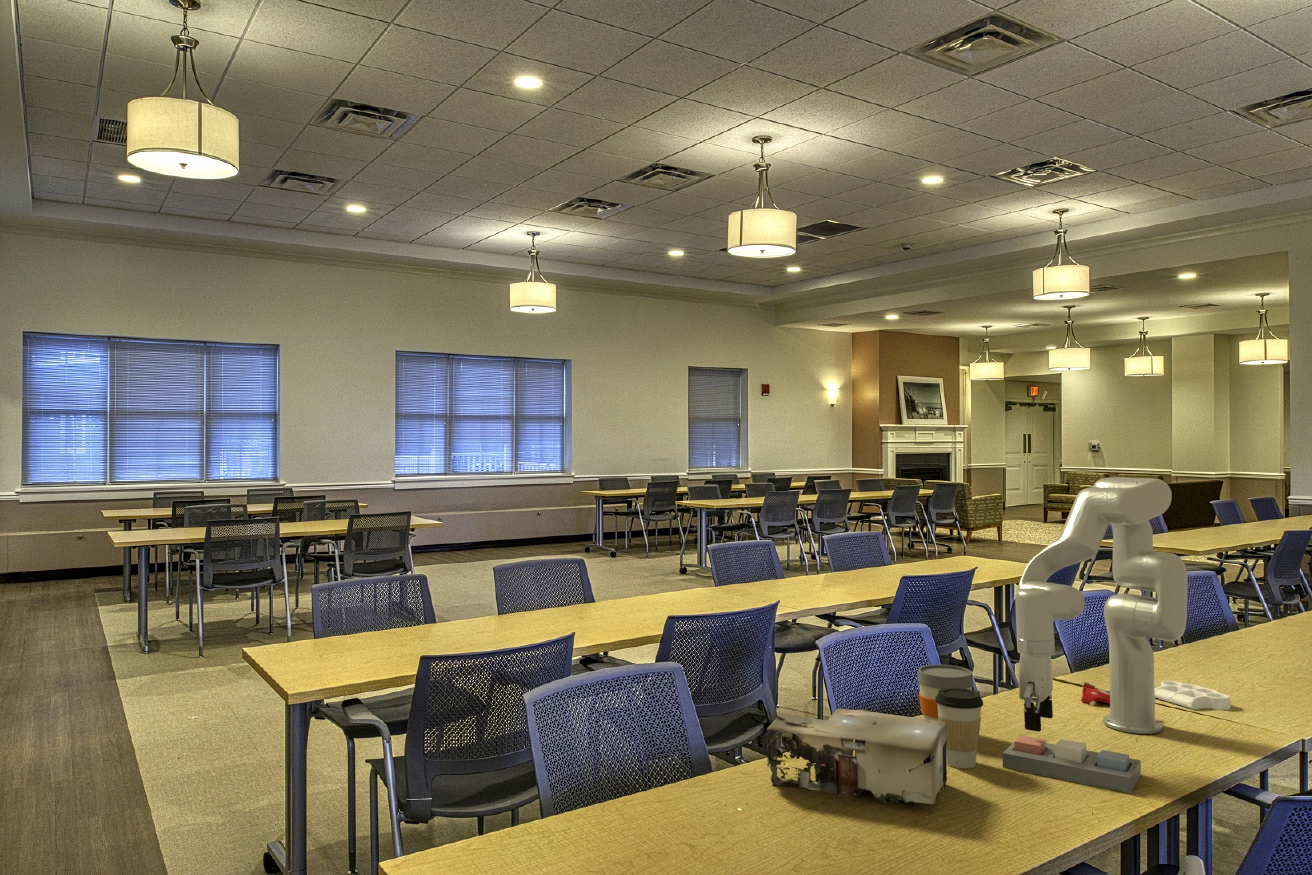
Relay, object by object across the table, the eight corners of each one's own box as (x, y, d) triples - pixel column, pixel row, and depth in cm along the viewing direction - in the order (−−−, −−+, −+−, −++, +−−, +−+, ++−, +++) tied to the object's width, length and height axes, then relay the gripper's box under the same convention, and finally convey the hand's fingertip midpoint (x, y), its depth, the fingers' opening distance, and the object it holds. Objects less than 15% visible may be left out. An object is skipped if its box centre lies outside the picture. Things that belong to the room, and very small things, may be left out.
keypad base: (1018, 751, 195) (1018, 737, 195) (1140, 774, 181) (1140, 760, 181) (1002, 767, 186) (1002, 752, 186) (1130, 793, 171) (1129, 777, 171)
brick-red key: (1021, 753, 192) (1021, 735, 192) (1045, 758, 189) (1045, 739, 189) (1014, 760, 188) (1014, 741, 188) (1039, 765, 185) (1039, 745, 185)
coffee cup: (986, 759, 191) (985, 689, 191) (982, 774, 182) (981, 701, 182) (938, 752, 195) (937, 685, 195) (932, 767, 186) (931, 696, 186)
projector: (791, 758, 192) (790, 697, 191) (947, 783, 177) (947, 718, 177) (763, 791, 175) (762, 724, 175) (933, 822, 161) (932, 749, 160)
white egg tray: (1140, 696, 238) (1179, 690, 243) (1203, 715, 221) (1243, 708, 227) (1140, 684, 238) (1179, 678, 244) (1202, 701, 221) (1243, 695, 227)
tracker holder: (1128, 700, 231) (1105, 696, 226) (1122, 715, 231) (1099, 712, 226) (1088, 679, 241) (1065, 675, 237) (1082, 694, 242) (1060, 690, 237)
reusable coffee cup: (951, 723, 215) (950, 662, 215) (985, 739, 203) (984, 674, 203) (907, 729, 211) (906, 666, 211) (939, 746, 199) (938, 679, 200)
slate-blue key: (1102, 769, 182) (1102, 749, 182) (1129, 774, 179) (1129, 754, 179) (1097, 776, 178) (1096, 756, 178) (1124, 782, 175) (1124, 761, 175)
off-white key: (1060, 757, 187) (1060, 738, 187) (1086, 762, 184) (1086, 743, 184) (1054, 764, 183) (1054, 745, 183) (1081, 769, 180) (1080, 750, 180)
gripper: (1028, 635, 202) (1031, 709, 202) (1006, 652, 188) (1009, 732, 188) (1063, 638, 197) (1066, 715, 197) (1043, 657, 183) (1047, 738, 184)
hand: (1039, 723), depth 193 cm, fingers open, 9 cm apart
